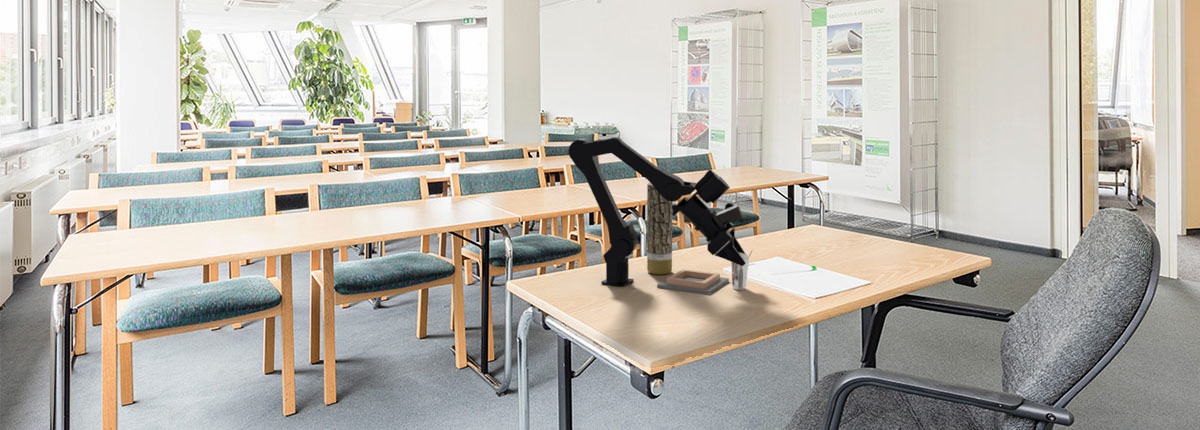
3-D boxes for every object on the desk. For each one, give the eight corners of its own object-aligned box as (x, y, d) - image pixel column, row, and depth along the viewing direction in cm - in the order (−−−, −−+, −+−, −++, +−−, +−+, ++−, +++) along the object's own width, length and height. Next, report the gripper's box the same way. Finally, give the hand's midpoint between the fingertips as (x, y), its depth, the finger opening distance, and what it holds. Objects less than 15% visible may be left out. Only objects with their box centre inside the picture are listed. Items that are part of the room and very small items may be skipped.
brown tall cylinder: (670, 275, 191) (671, 184, 187) (645, 274, 192) (645, 183, 188) (673, 269, 197) (673, 181, 193) (648, 268, 199) (649, 180, 194)
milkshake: (753, 290, 176) (754, 251, 174) (731, 290, 176) (732, 251, 174) (749, 285, 180) (750, 247, 179) (728, 286, 180) (729, 247, 179)
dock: (708, 294, 173) (709, 285, 173) (657, 287, 180) (657, 278, 180) (728, 281, 185) (728, 273, 184) (679, 274, 192) (679, 267, 191)
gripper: (722, 199, 166) (769, 246, 166) (725, 188, 184) (767, 231, 184) (688, 231, 169) (734, 278, 169) (694, 217, 187) (736, 260, 187)
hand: (744, 260), depth 177 cm, fingers open, 9 cm apart
